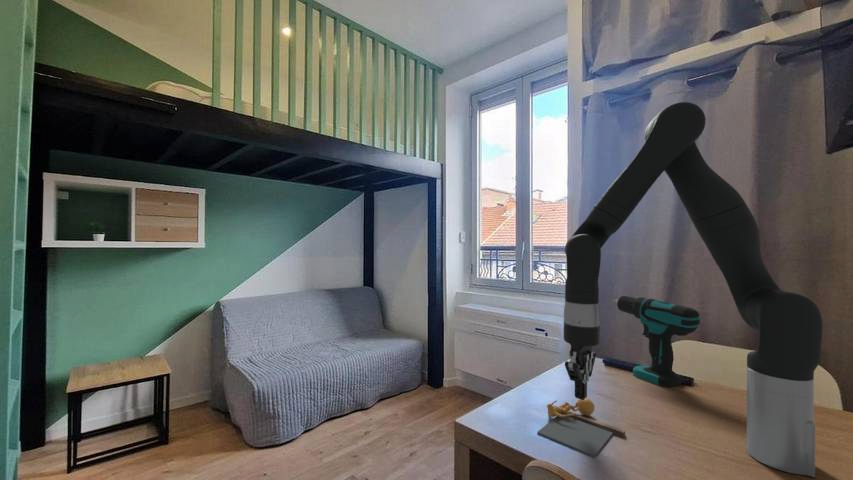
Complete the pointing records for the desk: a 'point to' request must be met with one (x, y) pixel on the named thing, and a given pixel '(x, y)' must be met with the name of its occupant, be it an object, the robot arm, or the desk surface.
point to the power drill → (660, 335)
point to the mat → (576, 434)
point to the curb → (597, 424)
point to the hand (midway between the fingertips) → (580, 397)
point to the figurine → (582, 405)
